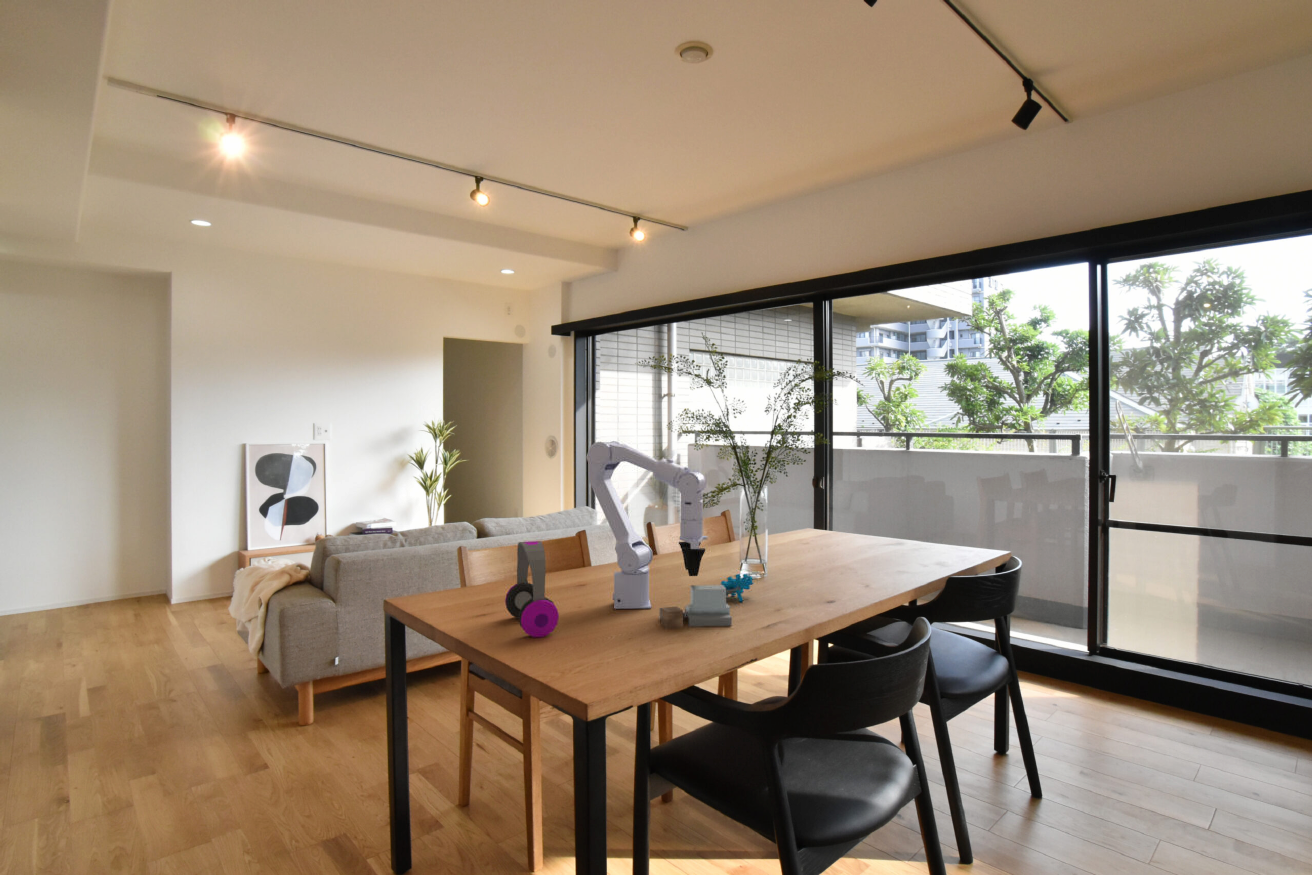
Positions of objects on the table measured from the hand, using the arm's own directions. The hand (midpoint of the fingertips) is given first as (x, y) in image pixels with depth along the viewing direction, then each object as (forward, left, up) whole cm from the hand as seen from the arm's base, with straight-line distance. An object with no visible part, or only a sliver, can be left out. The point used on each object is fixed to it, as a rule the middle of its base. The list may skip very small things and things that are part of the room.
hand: (691, 572), depth 172 cm
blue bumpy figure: (+13, +12, -10) cm, 21 cm away
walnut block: (-6, -12, -10) cm, 17 cm away
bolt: (-5, -7, -10) cm, 13 cm away
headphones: (-39, -11, -10) cm, 42 cm away
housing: (+3, -8, -8) cm, 12 cm away
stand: (+3, -8, -10) cm, 13 cm away
